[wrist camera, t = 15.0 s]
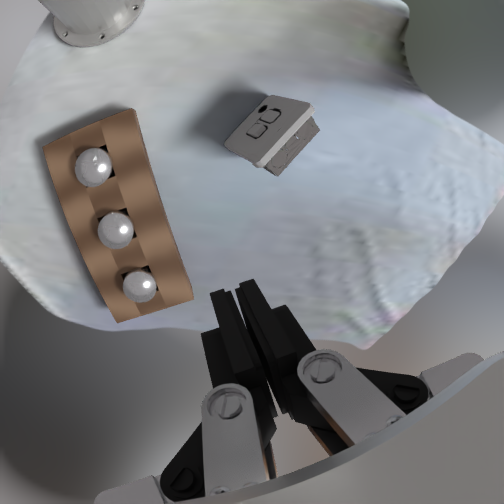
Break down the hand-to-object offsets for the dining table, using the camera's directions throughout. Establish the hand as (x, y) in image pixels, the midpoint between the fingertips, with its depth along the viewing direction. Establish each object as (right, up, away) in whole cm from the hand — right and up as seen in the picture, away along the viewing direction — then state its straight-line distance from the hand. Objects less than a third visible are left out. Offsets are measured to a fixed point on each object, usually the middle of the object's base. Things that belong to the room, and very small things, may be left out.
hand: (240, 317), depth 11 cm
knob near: (-18, +13, +21) cm, 31 cm away
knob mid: (-17, +7, +25) cm, 30 cm away
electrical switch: (+2, +18, +26) cm, 32 cm away
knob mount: (-17, +7, +25) cm, 31 cm away
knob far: (-15, 0, +28) cm, 32 cm away
